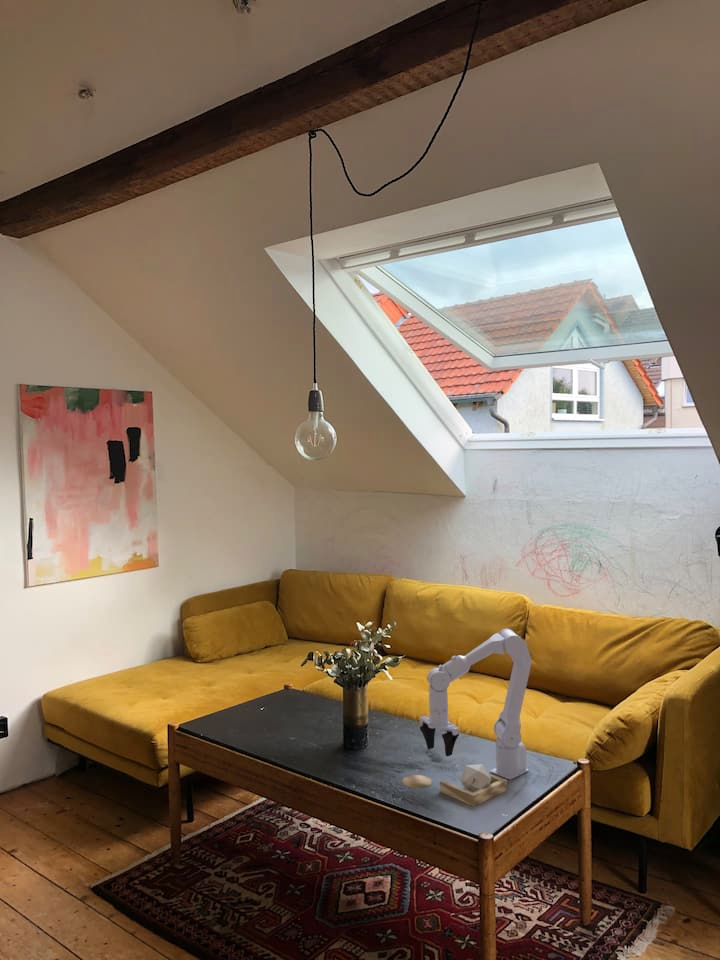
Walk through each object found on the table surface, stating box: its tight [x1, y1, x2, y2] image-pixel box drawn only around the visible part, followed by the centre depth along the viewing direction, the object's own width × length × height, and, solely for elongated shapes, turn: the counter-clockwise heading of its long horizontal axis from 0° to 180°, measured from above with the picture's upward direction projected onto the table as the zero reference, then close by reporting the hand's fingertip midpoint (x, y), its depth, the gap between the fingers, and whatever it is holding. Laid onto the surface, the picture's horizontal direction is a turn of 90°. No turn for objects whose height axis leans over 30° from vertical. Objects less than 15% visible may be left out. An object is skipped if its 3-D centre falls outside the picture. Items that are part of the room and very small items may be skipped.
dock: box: [439, 772, 508, 807], centre depth 230 cm, size 15×13×3 cm
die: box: [459, 763, 491, 792], centre depth 229 cm, size 8×9×10 cm
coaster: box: [401, 774, 433, 789], centre depth 237 cm, size 9×9×1 cm
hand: (439, 751), depth 240 cm, fingers open, 7 cm apart
